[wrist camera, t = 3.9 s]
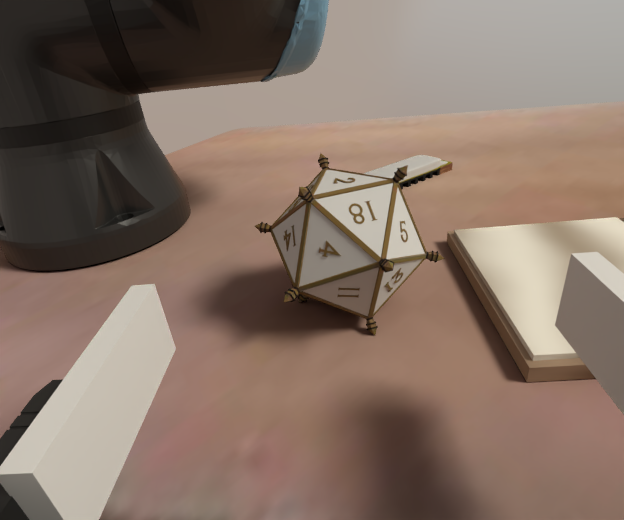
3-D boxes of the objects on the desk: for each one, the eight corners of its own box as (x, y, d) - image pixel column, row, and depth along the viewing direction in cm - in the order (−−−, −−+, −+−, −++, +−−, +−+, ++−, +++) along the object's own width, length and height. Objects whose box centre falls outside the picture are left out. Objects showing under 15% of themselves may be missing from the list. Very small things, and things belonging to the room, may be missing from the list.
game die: (346, 378, 24) (241, 321, 16) (299, 269, 29) (202, 187, 22) (487, 294, 22) (442, 186, 15) (409, 194, 28) (347, 77, 20)
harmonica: (427, 168, 45) (428, 149, 44) (451, 174, 43) (453, 154, 42) (318, 208, 38) (316, 187, 37) (340, 218, 36) (338, 196, 35)
